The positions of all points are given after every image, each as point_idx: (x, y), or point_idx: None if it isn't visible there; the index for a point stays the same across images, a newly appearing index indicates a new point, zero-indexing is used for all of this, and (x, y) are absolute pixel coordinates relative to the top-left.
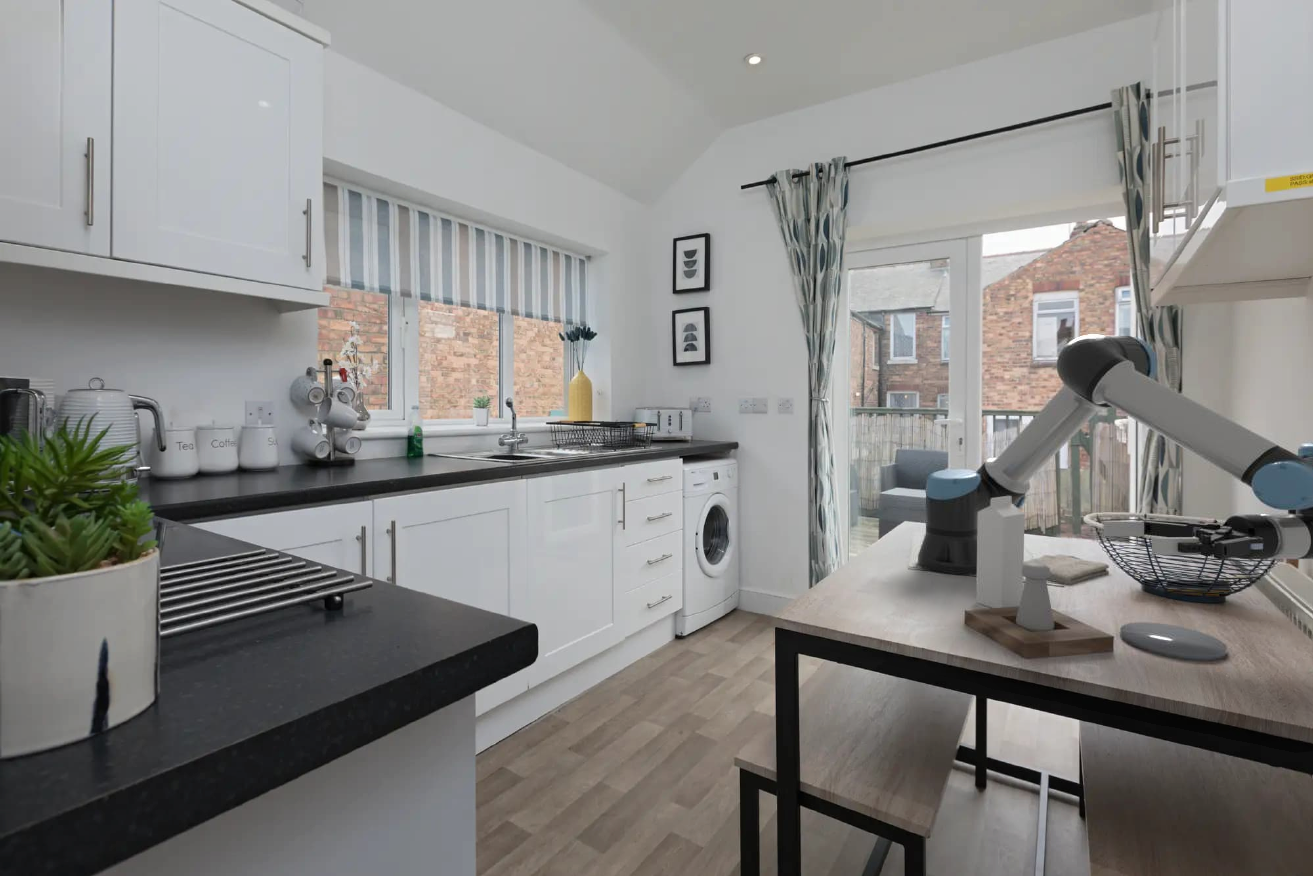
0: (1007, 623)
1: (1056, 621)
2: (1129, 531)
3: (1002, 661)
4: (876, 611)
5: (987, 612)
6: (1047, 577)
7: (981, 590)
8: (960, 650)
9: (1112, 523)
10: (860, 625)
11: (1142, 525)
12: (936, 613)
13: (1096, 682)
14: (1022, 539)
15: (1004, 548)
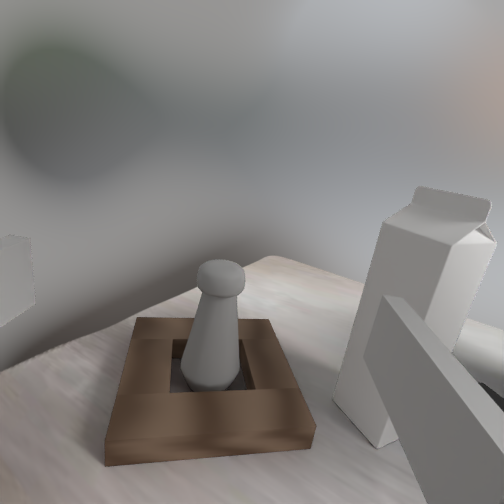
0: None
1: (211, 393)
2: (415, 427)
3: (140, 316)
4: (299, 292)
5: (260, 334)
6: (198, 285)
7: None
8: (180, 303)
9: (393, 319)
10: (256, 275)
11: (489, 485)
12: (302, 327)
13: (32, 361)
14: (420, 308)
15: (365, 291)
